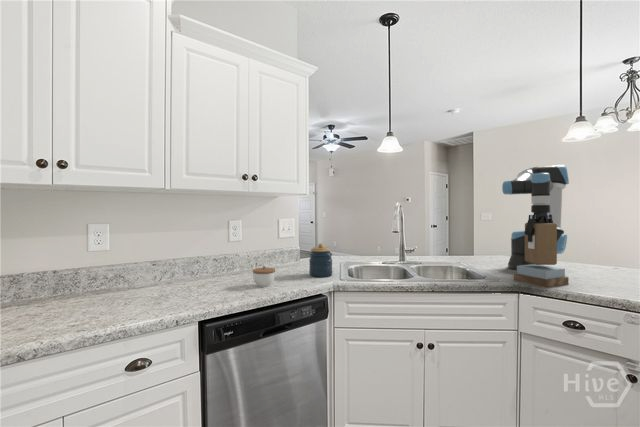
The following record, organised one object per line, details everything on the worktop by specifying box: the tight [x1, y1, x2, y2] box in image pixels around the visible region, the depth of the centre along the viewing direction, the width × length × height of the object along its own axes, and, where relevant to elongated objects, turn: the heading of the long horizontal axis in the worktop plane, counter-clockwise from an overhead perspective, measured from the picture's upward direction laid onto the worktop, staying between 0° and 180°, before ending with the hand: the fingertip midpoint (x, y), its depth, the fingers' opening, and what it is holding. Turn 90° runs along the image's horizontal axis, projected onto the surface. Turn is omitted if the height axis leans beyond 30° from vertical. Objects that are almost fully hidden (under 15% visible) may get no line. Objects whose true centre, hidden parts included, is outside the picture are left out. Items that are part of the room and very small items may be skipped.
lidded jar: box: [252, 265, 276, 288], centre depth 148 cm, size 11×11×9 cm
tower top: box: [516, 264, 566, 279], centre depth 152 cm, size 14×14×4 cm
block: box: [524, 222, 558, 266], centre depth 152 cm, size 10×10×20 cm
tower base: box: [513, 272, 570, 288], centre depth 152 cm, size 16×16×4 cm
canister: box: [308, 243, 333, 278], centre depth 171 cm, size 13×13×18 cm
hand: (540, 247), depth 152 cm, fingers closed on block, 12 cm apart
